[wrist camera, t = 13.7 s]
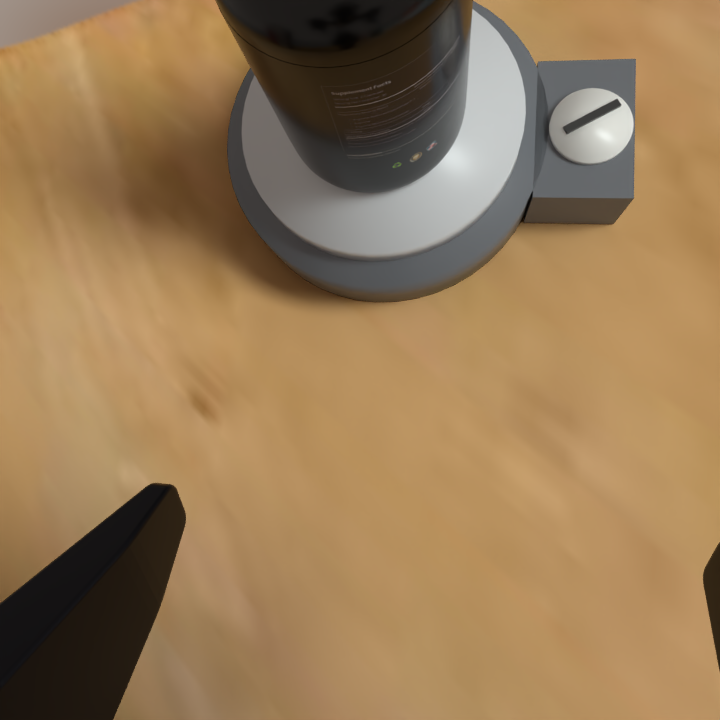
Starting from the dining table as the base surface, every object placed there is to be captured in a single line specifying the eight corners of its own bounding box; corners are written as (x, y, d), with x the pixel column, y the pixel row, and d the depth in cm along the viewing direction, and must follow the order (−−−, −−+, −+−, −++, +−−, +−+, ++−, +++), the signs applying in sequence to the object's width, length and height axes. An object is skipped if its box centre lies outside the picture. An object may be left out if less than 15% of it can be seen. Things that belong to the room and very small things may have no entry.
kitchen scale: (611, 311, 23) (641, 288, 19) (233, 296, 25) (200, 273, 22) (617, 19, 24) (646, -51, 21) (262, 32, 27) (235, -28, 23)
